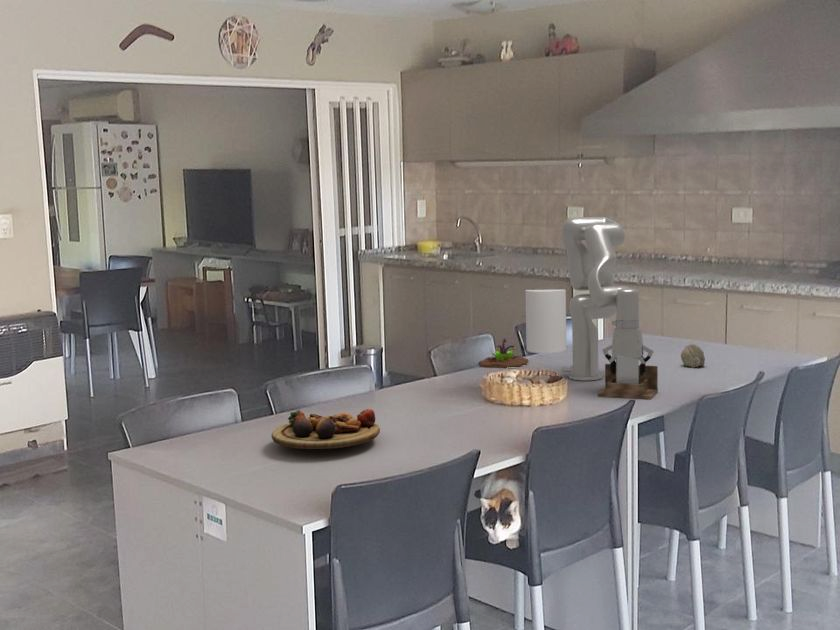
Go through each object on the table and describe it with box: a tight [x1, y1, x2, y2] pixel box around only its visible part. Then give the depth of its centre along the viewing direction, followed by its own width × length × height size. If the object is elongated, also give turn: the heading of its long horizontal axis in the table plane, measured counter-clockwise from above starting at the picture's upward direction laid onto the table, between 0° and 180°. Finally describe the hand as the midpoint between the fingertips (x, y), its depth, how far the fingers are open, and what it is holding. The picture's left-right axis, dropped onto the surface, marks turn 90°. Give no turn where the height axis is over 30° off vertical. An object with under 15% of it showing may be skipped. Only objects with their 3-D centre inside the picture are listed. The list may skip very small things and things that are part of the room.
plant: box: [478, 338, 529, 369], centre depth 401 cm, size 20×20×11 cm
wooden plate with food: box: [271, 408, 381, 450], centre depth 291 cm, size 32×32×8 cm
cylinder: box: [525, 289, 567, 354], centre depth 426 cm, size 17×17×28 cm
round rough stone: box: [680, 343, 706, 369], centre depth 380 cm, size 9×8×10 cm
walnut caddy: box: [597, 363, 659, 400], centre depth 337 cm, size 18×13×9 cm
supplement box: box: [615, 356, 640, 384], centre depth 337 cm, size 7×7×13 cm
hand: (627, 374), depth 336 cm, fingers open, 9 cm apart
